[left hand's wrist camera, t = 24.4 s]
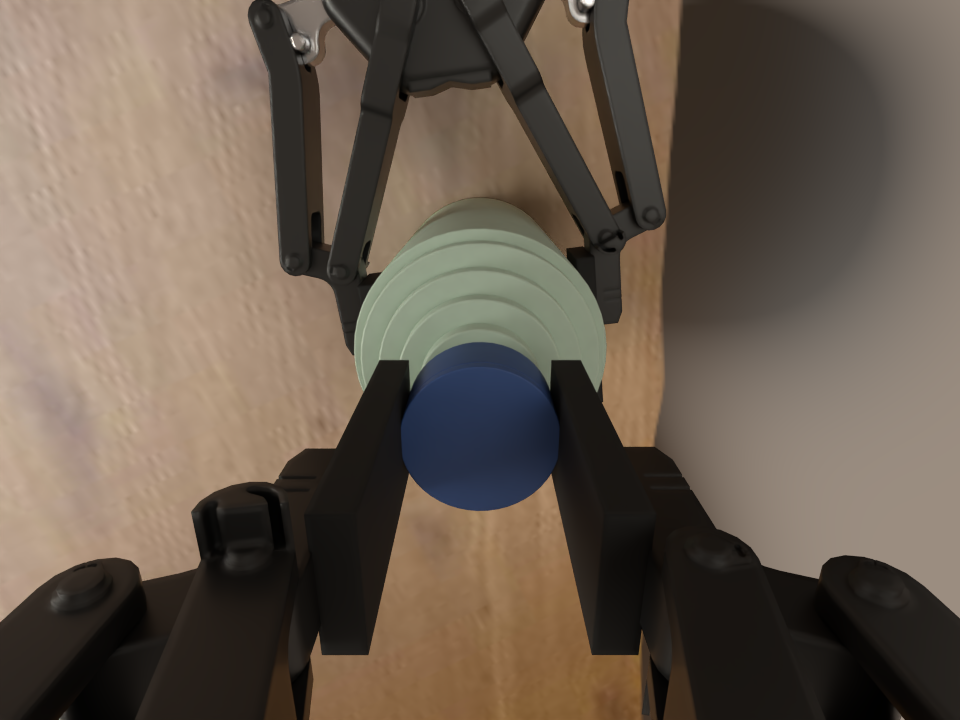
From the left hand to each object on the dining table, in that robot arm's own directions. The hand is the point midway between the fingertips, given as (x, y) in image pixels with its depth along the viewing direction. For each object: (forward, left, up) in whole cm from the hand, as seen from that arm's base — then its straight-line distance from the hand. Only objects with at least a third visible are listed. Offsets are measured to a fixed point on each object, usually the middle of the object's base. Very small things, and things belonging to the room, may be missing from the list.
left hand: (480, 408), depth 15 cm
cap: (0, 0, +2) cm, 2 cm away
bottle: (0, 0, -17) cm, 17 cm away
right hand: (-5, -1, -11) cm, 12 cm away
